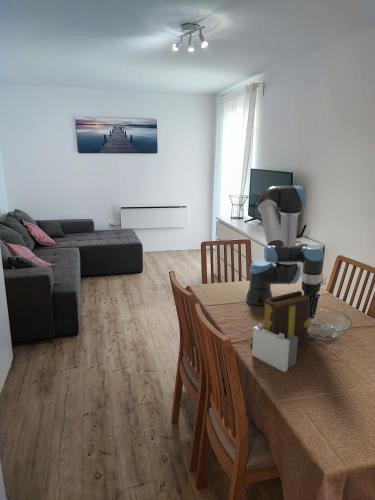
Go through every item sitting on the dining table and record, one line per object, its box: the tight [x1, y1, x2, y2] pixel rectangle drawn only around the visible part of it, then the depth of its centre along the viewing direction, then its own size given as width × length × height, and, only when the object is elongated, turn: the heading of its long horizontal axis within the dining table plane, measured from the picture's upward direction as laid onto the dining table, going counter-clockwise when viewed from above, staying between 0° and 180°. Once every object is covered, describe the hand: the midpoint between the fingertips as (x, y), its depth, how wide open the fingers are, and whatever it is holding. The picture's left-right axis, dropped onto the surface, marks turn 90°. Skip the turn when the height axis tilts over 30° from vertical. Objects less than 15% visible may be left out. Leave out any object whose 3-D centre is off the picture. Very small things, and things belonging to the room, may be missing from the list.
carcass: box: [251, 323, 298, 373], centre depth 148 cm, size 8×16×15 cm, turn 40°
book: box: [263, 290, 313, 354], centre depth 152 cm, size 22×8×25 cm, turn 116°
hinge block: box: [250, 334, 253, 346], centre depth 162 cm, size 4×4×4 cm
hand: (307, 331), depth 164 cm, fingers closed
